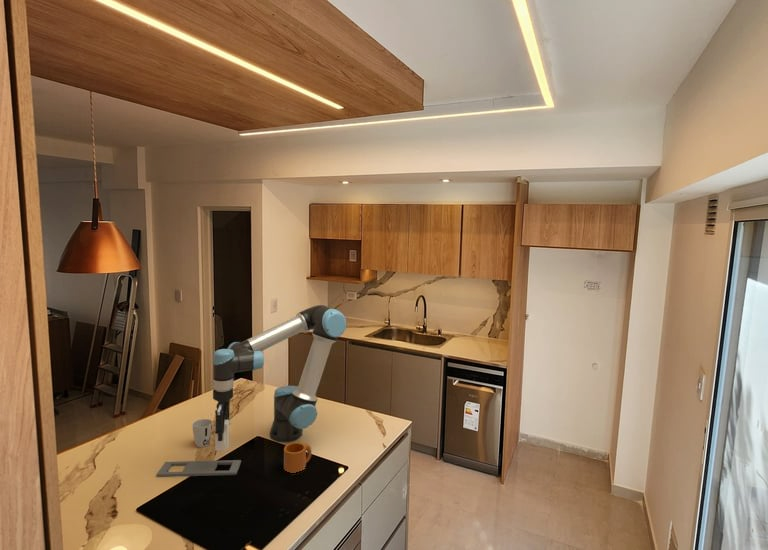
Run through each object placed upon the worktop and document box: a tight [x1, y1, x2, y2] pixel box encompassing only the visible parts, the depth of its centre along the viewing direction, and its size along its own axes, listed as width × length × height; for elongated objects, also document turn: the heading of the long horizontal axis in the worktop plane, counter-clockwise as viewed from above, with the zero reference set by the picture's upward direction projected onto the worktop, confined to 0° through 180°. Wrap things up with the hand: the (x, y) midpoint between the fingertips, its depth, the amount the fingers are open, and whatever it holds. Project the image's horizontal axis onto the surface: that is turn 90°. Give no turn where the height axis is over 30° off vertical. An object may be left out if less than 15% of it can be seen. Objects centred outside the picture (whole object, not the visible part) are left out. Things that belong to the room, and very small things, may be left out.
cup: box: [191, 418, 213, 448], centre depth 191 cm, size 8×8×10 cm
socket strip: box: [156, 459, 242, 478], centre depth 173 cm, size 30×9×1 cm, turn 97°
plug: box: [214, 419, 231, 452], centre depth 172 cm, size 5×4×11 cm
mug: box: [283, 441, 312, 473], centre depth 177 cm, size 9×12×9 cm
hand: (222, 444), depth 172 cm, fingers closed on plug, 4 cm apart
